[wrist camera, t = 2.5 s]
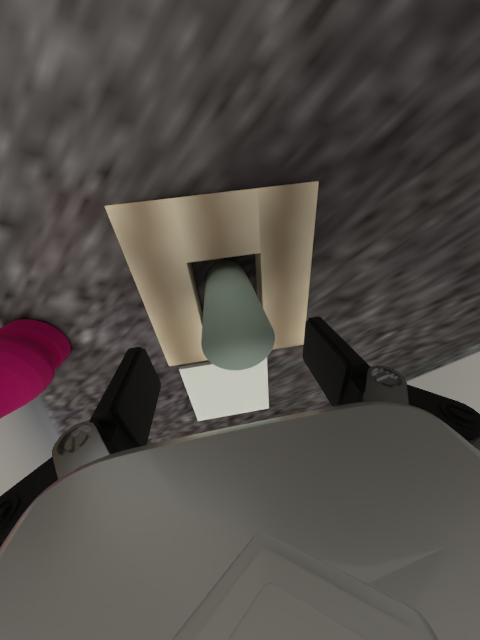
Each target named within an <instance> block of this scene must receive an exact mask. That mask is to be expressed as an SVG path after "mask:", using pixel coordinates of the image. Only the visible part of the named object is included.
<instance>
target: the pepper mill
mask: <svg viewBox="0 0 480 640" xmlns="http://www.w3.org/2000/svg"><path fill="white" fill-rule="evenodd" d="M70 352H71V346H70V343H69V341H68V339H67V338H66V336H65V335H64V334H63V333H62V332H60V331H59V330H58V329H57V328H55V327H53V326H51V325H49V324H47V323H44V322H41V321H38V320H31V319H20V320H15V321H12V322H10V323H8V324H7V325H5V326H3V327H2V328H0V418H2V417H3V416H5V415H7V414H9V413H11V412H13V411H15V410H17V409H18V408H20V407H22V406H24V405H26V404H27V403H28V402H30V401H31V400H33V399H34V398H36V397H37V396H38V395H39V394H40V393H41V392H42V391H44V390H45V389H46V388H47V387H48V386H49V384H50V383H51V382H52V380H53V378H54V373H55V372H54V369H56V368H58V367H59V366H60V365H61V364H62V363H63V362H64V361H65V360H66V359H67V358H68V356H69V355H70Z"/></svg>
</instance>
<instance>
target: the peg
mask: <svg viewBox="0 0 480 640" xmlns="http://www.w3.org/2000/svg"><path fill="white" fill-rule="evenodd" d="M274 342H275V334H274V330H273V328H272V326H271V324H270V322H269V319H268V317H267V315H266V313H265V311H264V309H263V307H262V305H261V303H260V301H259V299H258V297H257V295H256V293H255V291H254V289H253V287H252V285H251V283H250V281H249V279H248V277H247V274H246V272H245V271H244V269H243V268H242V267H241V266H240V265H239V264H238V263H236V262H233V261H227V260H226V261H220V262H218V263H216V264H214V265H213V266H212V267H211V268H210V269H209V271H208V273H207V275H206V284H205V298H204V311H203V325H202V339H201V346H202V351H203V353H204V355H205V357H206V358H207V359H208V360H209V361H210V362H211V363H212V364H214V365H215V366H217V367H219V368H222V369H226V370H243V369H248V368H251V367H253V366H255V365H257V364H259V363H260V362H262V361H263V360H264V359H265V358H266V357H267V356H268V355H269V354H270V352H271V350H272V349H273V346H274Z"/></svg>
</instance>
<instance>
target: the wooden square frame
mask: <svg viewBox="0 0 480 640" xmlns="http://www.w3.org/2000/svg"><path fill="white" fill-rule="evenodd" d="M318 184H319V181H315V182H306V183H298V184H289V185H281V186H272V187H263V188H255V189H246V190H238V191H229V192H220V193H212V194H203V195H194V196H186V197H177V198H169V199H160V200H151V201H143V202H134V203H126V204H117V205H108V206H105V209H106V211H107V214H108V216H109V219H110V221H111V224H112V226H113V229H114V231H115V234H116V236H117V238H118V241H119V243H120V246H121V248H122V251H123V253H124V256H125V258H126V261H127V263H128V266H129V268H130V271H131V273H132V276H133V278H134V281H135V283H136V286H137V288H138V290H139V293H140V295H141V298H142V300H143V303H144V305H145V308H146V310H147V313H148V315H149V318H150V320H151V323H152V325H153V328H154V330H155V333H156V335H157V338H158V340H159V342H160V345H161V347H162V350H163V352H164V355H165V357H166V360H167V362H168V365H169V366H173V365H180V364H186V363H192V362H198V361H204V360H208V359H207V358H206V357H205V355H204V353H203V351H202V346H201V339H202V325H203V310H202V306H201V301H200V297H199V293H198V288H197V284H196V280H195V275H194V271H193V267H192V262H197V261H205V260H212V259H220V258H227V257H234V256H242V255H249V254H255V268H256V284H257V297H258V299H259V301H260V303H261V305H262V307H263V309H264V311H265V313H266V315H267V317H268V319H269V322H270V324H271V326H272V328H273V330H274V334H275V342H274V346H273V349H278V348H284V347H290V346H296V345H303V344H304V335H305V324H306V315H307V304H308V293H309V283H310V272H311V261H312V250H313V239H314V228H315V217H316V206H317V195H318Z"/></svg>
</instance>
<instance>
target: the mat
mask: <svg viewBox="0 0 480 640" xmlns="http://www.w3.org/2000/svg"><path fill="white" fill-rule="evenodd" d="M179 371H180V374H181V377H182V379H183V382H184V385H185V387H186V390H187V393H188V395H189V398H190V401H191V403H192V406H193V409H194V411H195V414H196V417H197V420H198V421H201V420H207V419H213V418H218V417H224V416H229V415H235V414H241V413H246V412H252V411H257V410H263V409H268V408H269V398H268V371H267V357H266V358H265V359H264V360H263V361H262V362H260V363H259V364H257V365H255V366H253V367H251V368H248V369H243V370H226V369H222V368H219V367H217V366H215V365H214V364H212V363H211V362H210V361H209V362H203V363H197V364H191V365H185V366H180V367H179Z"/></svg>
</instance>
